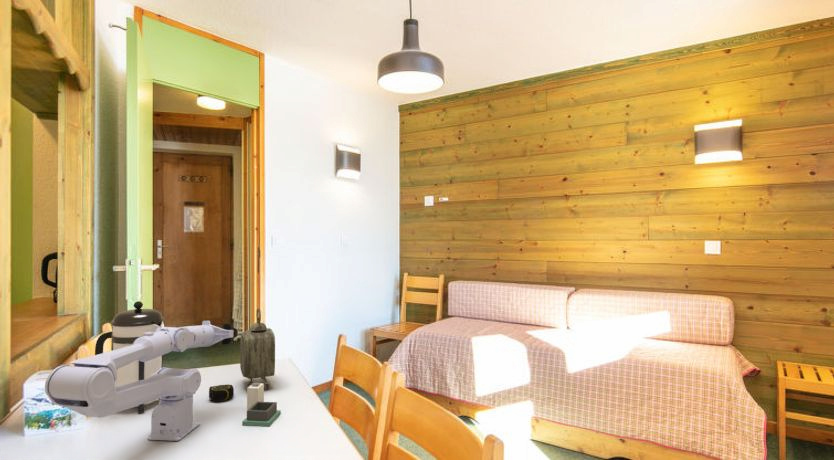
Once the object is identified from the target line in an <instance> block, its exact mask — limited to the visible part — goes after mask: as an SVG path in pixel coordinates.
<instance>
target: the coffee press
mask: <svg viewBox="0 0 834 460" xmlns="http://www.w3.org/2000/svg"><path fill="white" fill-rule="evenodd" d="M143 306H144V304H143V302H142V301H140V300H139V301H135V302H134V304H133V309H128V310H124V311H120V312H119V313H117V314H116V315H115V316H114V317H113V319H112V320H111V322H110V325H111V327H112V331H108V332H104V333H101V334H100V336H98V338H97V340H96V342H95V345H94V346H95V348H94V355H98V354H102V353H104V345H105V342H106V341H107V340H108V339H111V347H110V349H111V350H110V351H113V350H116V349H120V348H124V347H127V346H131V345H133V343H134V341H135V340H136V339H137V338H139V337H142V336H144V333H146V332H153V333H154V332H155V331H156V330H157V329H158V328H159V327H165V324H164V318H165V317H164V316H163V315H162V313H161V312H160V311H159V310H158V309H151V308H143ZM163 356H164V355H162V356H159V357H157V358H154V359H152V360H149V361H146V362H141V361H139V360H136V361H134V362H132V363H129V364H127V365H125V366H123V367H121V368H119V369H117V370H116V371H117V380H116V381H115V385H116V387H118V386H121V385H125V384H129V383H132V382H136V381H140V380H143V379H147V378H149V377H150V375H151V374H154V373H156V372H157V371H158V370H159V369H160V368H163V359H164V358H163ZM157 400H159V401H160V398H158V399H155V400H152V401H149V402H146V403H144V404H141V405H138V406H135V407H134V408H137V413H138V415H141V414H145V412H146V410H145V406H146V405H149V404H152V403H153V402H155V401H157Z"/></svg>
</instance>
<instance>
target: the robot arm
mask: <svg viewBox="0 0 834 460" xmlns="http://www.w3.org/2000/svg"><path fill="white" fill-rule="evenodd" d="M222 326H223V327H222V328H221V327H219V326H215V325H212V324H211V321H210V320H203V321H202V324H200V325H199V324H198V325H187V326H179V327H174V326H164V327H159V328H158V329H157V330H156V331H155V332H154V333H153V332H146V333H144V336H142V337H139V338H137V339H136V340H135V341H134V343H133V345H131V346H127V347H124V348H120V349H116V350H113V351H111V350H110V351H107V352H103V353H102V354H98V355H95V354H94V355H91V356H87V357H82V358H78V359H75V360H73V361H70V362H69V364H72V365H69V364H61V365H59V366H57V367H55V368H54V369H53V370H52V371H51V372H49V374H48V376H47V377H46V380H45V383H44V392H45V394H46V396H47V398H48V399H49V400H50V402H51V403H52V405H57V406H59V407H63V408H67V409H69V410H70V411H73V412H76V413H78V414H80V415H83V416H85V417H90V418H102V419H103V418H105V417H108V416H111V415H114V414H118V413H120V412H123V411H126V410H129V409H132V408H136V407H135V406H138V405H141V404H144V403H146V402H149V401H152V400H155V399H157V400H159V399H158V398H160V400H159V401H158V402H159V403H158V404H157V405H156V406H155V407H154V409H153V410H152V413H151V419H150V420H151V421H150V423H151V425H150V426H151V427H150V431H151V432H150V434H151V435H149V436H148V437H147V440H149V441H151V440H152V441H173V442H179V441H181V440H182V439H183V438H184V437H185V436H188V434H190V433H191V432H193V430H195V429H196V428H197V427H199V426H200V425H201V422H195V421H193V416H194V415H193V414H194V413H193V410H194V409H193V407H194V405H193V404H194V395H195V394H196V392H197V391H198V390H199V388H200V386H201V383H202V375H201V373H200V371H199V370H198V369H196V368H192V369H188V368H171V367H165V366H162V368H160V369H159V370H158V371H157V372H156V373H154V374H151V375H150V377H149V378H147V379H143V380H140V381H136V382H132V383H129V384H125V385H121V386H118V387H116V385H115V381H116V380H117V371H116V370H117V369H119V368H121V367H123V366H125V365H127V364H129V363H132V362H134V361H136V360H139V361H141V362H146V361H149V360H152V359H154V358H157V357H159V356H162V355H163V356H164V355H166V354H169V353H171V352H180V353H182V352H184V351H186V350H189V349H195V348H201V347H202V348H203V347H204V348H205V347H206V348H207V347H211V346H213V345H215V344H217V343H220V342H221V345H230V344H232V341H233V340H234V339H235V338H236V337H238V329H237V328H235V327H233V326H232V324H231V323H223V324H222ZM155 401H156V400H155Z"/></svg>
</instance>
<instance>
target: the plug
mask: <svg viewBox="0 0 834 460" xmlns="http://www.w3.org/2000/svg"><path fill="white" fill-rule="evenodd" d="M264 399H265V383H260V382H253V384H252V385H250V386H247V388H246V410H248V409H249V408H250V407H252V406H253V405H254V404H255V403H256V402H265V400H264Z"/></svg>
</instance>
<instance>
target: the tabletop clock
mask: <svg viewBox="0 0 834 460" xmlns="http://www.w3.org/2000/svg"><path fill="white" fill-rule="evenodd" d="M261 319H262V312H261V309H260V308H257V309H256V322H254V323H253V324H252V325H251V327H250V329H246V330H245V331H243V332H241V333H240V342H239V343H240V346H239V350H240V351H239V352H240V353H239V356H240V357H239V362H240V364H239V365H240V372H241V375H242V377H243V378H246V379H249V380H250V381H248V382H247V387H249V386H250V385H252V384H253V383H254V382H253V379H261V380H262V381H263V382H264V389H266V390H269V389H271V387H272V386H271V384H270V383H268V381H267V379H266V377H274V376H275V374H276V373H275V372H276V370H275V369H276V336H275V333H274V330H273V329H271V328H269V327H268V328H267V325H266V324H265V323H264V322H261Z"/></svg>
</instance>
